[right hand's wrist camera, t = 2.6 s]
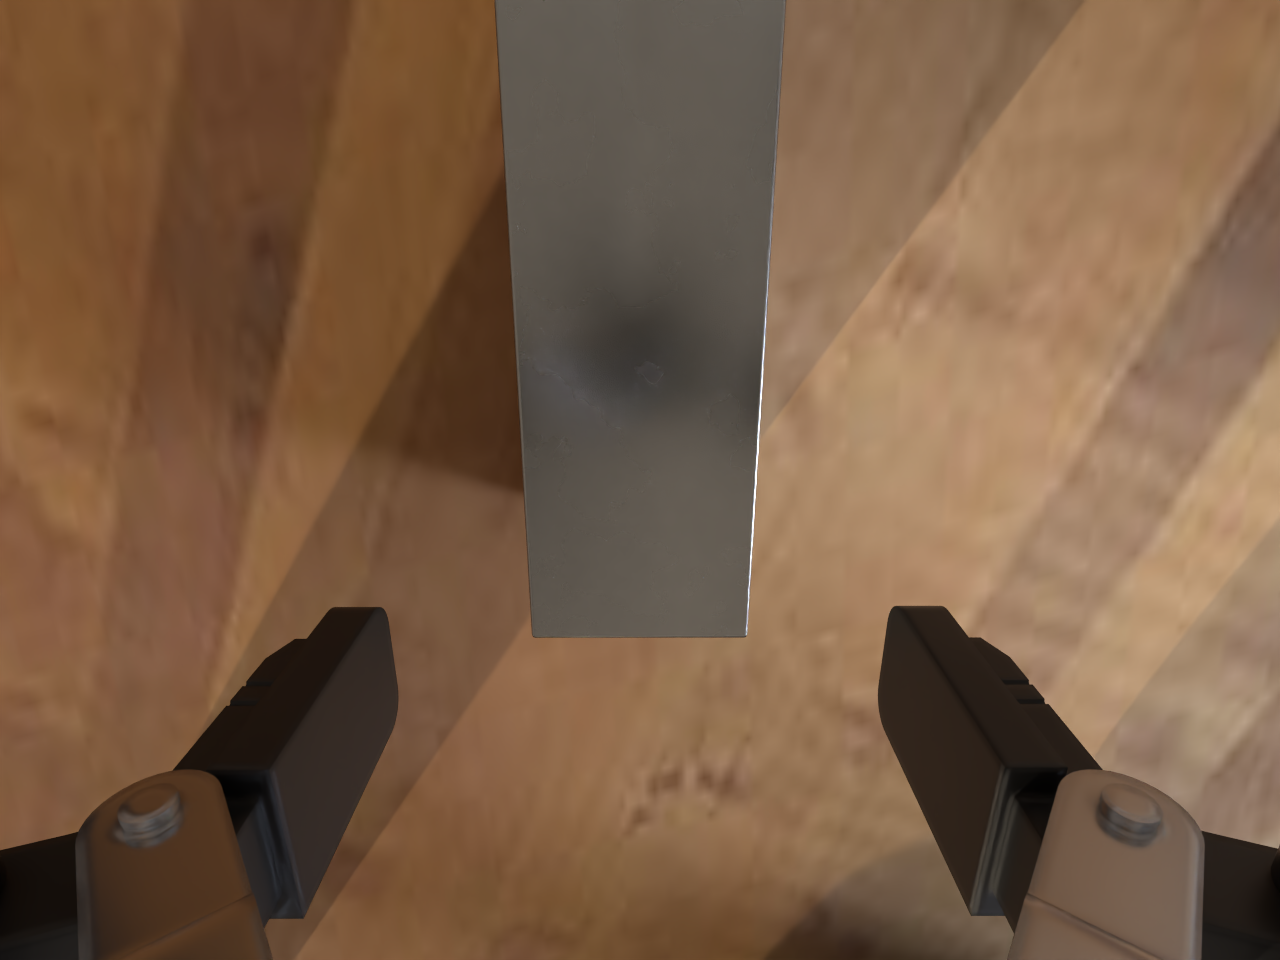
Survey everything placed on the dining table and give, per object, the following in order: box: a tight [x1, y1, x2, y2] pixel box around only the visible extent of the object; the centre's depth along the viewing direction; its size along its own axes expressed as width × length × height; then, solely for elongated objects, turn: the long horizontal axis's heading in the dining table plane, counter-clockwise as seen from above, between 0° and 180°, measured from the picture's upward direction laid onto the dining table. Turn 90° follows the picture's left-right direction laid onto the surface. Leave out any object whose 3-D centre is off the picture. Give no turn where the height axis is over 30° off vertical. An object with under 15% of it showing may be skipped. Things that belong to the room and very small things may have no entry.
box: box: [494, 0, 786, 638], centre depth 20 cm, size 26×6×10 cm, turn 0°
